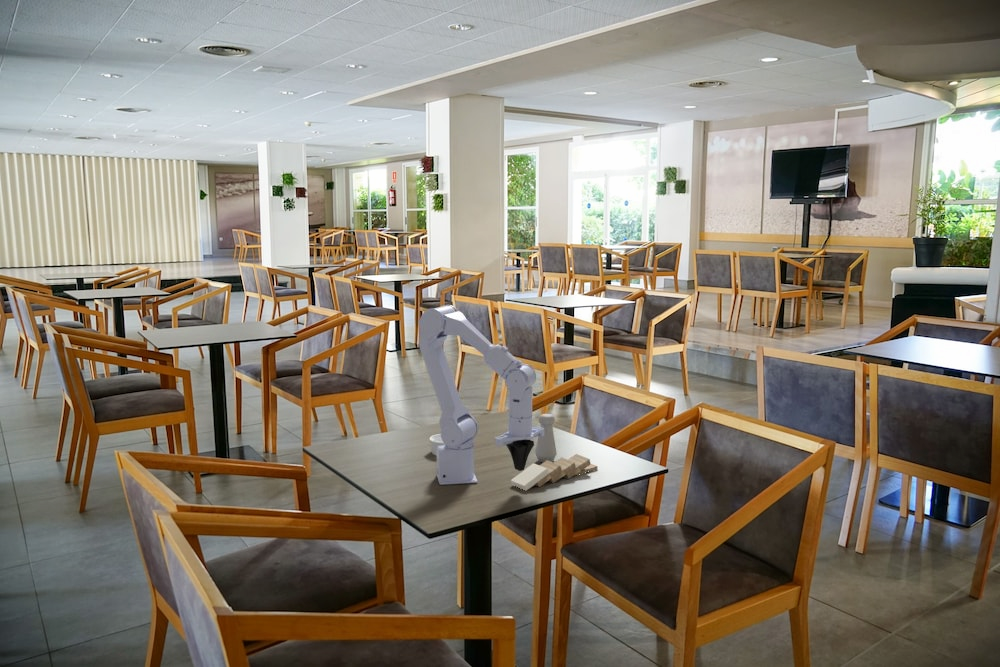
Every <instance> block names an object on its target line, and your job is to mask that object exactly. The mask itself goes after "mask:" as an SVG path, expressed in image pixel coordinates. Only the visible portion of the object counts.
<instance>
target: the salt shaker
mask: <svg viewBox="0 0 1000 667" xmlns="http://www.w3.org/2000/svg"><path fill="white" fill-rule="evenodd" d="M555 420H556V419H555V415H553V414H551V413H542V414H540V415H539V416H538V423H539V424H540V426H539V427H541V428H544V436H542V437H540V436H538V437H537V441H536V447H535V452H534V453H535V456H536V459H537V461H538V462H539V461H540V462H542V463H544V462H545V461H546V460H548V461H551V462H553V463H554V460H555V459H556V457H557V452H558V451H557V447H556V440H555V434H554V427H553V425H554V424H555ZM540 462H539V463H540ZM542 463H541V464H542Z"/></svg>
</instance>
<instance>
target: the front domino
mask: <svg viewBox="0 0 1000 667" xmlns="http://www.w3.org/2000/svg"><path fill="white" fill-rule="evenodd" d="M548 474H549V473H548V470H547V468H545V467H542V466H540V465H538V464H536V463H534V462H533V463H531V465H529V466H528V467H526V468H524V470H522V471H520V473H518V474H517V475H516V476H514V477H513V478H512V479H510V482H511V486H512V485H513V487H515V486H516V487H515V488H517V487H518V488H517V489H519V488H520V490H522V489H523V491H524V490H525V491H524V492H527V491H528V490H529V489H531V488H532V487H534V486H535V484H536V483H537V482H538V481H540V480H541V479H542V478H544V477H545V476H546V475H548Z"/></svg>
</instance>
